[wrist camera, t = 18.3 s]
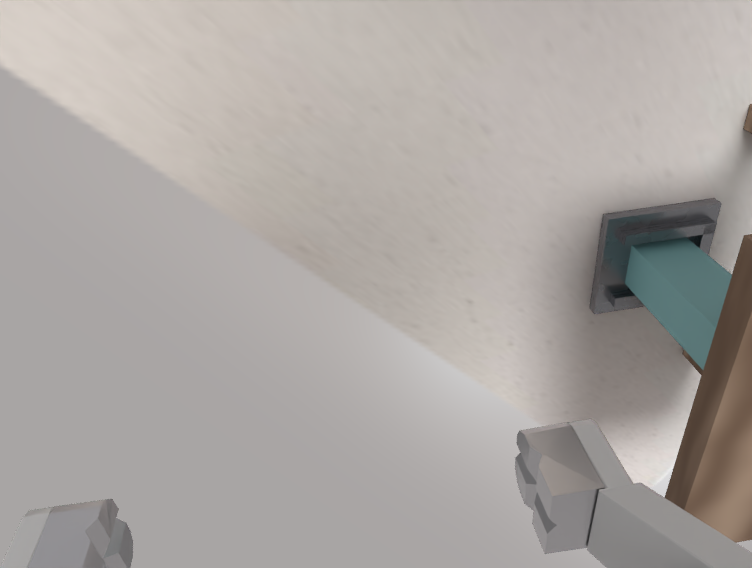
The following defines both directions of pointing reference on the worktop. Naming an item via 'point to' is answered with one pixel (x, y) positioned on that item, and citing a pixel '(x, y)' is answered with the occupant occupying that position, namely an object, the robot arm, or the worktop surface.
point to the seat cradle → (640, 229)
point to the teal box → (680, 291)
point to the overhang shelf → (722, 416)
